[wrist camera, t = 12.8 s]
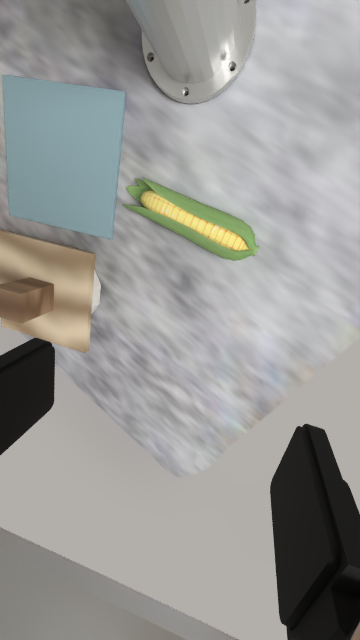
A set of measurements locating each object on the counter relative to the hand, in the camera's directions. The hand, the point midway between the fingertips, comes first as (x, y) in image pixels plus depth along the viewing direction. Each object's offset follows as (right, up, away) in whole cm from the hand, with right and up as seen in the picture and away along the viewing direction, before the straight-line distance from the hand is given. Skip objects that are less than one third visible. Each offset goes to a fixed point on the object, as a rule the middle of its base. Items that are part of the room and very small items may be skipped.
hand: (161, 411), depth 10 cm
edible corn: (+2, +17, +27) cm, 32 cm away
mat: (-16, +26, +28) cm, 42 cm away
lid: (-19, +8, +30) cm, 36 cm away
